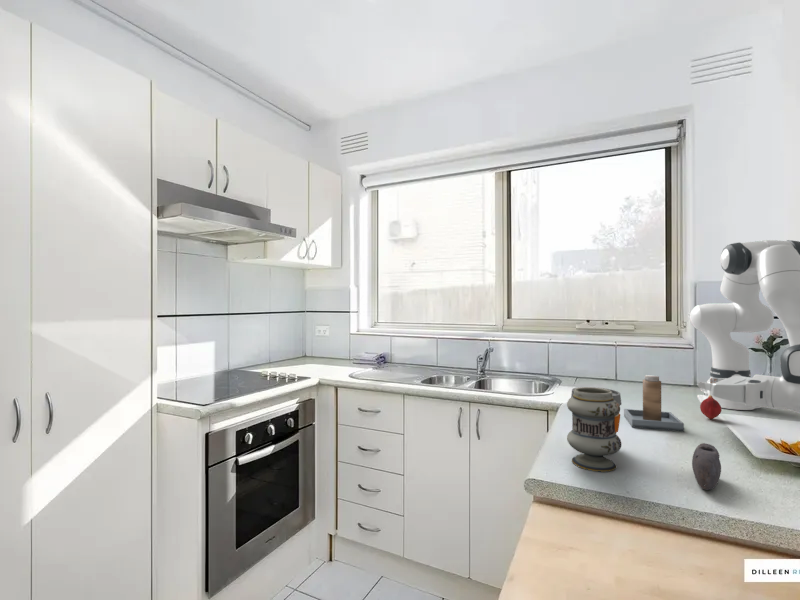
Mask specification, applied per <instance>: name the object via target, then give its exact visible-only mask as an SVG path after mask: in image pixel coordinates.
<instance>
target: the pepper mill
mask: <svg viewBox="0 0 800 600" xmlns="http://www.w3.org/2000/svg"><path fill="white" fill-rule="evenodd" d="M642 410H643V420H654V421H661V412H662V381H661V380H660V376H658V375H651V374H650V375H649V374H645V375H644V379H642Z"/></svg>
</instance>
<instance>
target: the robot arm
mask: <svg viewBox="0 0 800 600" xmlns="http://www.w3.org/2000/svg"><path fill="white" fill-rule="evenodd" d="M719 262H720V266H721V270H723V271H724V272H723V276H722V280H721V282H720V283H721V284H720V288H719V290H720V294H721V295H722V296H723V298H724V299H727V300H728V301H729V302H730V303H729V302H728V303H726V302H725V303H724V302H720V303H719V302H717V303H713V302H711V303H704V304H698V305H695V306H694V307H693V308H692V309H691V311H690V314H689V320H690V323H691V325H692V326H693V328H694V329H696V330H697V331H699V333H701V334H702V335H703V336H704V337H705V338H706V339H707V341H708V343H709V346H710V349H711V359H712V360H711V362H712V367H711V368H710V374H709V376H710V377H709V378H708V379H707V381H698V383H697V387H698V388H699V389H700V391H701V392H703V394H697V399H698V401H699V403H700V404H701V403H702V401H703V400H705V399H707V398H708V397H709V395H711V396H712V397H713V399H715V400H716V401H717V402H718V403H719V404H720V406H721V409H729V410H738V411H740V410H741V411H751V410H756V409H761V408H768V409H775V410H789V411H791V412H794V413H798V414H800V241H799V240H790V239H788V240H787V239H786V240H776V239H775V240H773V239H772V240H771V239H769V240H767V239H766V240H759V241H756V240H755V241H748V242H746V241H745V242H733V243H730V244H727V245H725V247H724V248H723V249H722V252H721V253H720V261H719ZM760 291H761V294H762V296H763V298H764V300H765V302H766V303H767V305H765V304H764V303H762V301H761V300H760ZM773 313H774V314H775V316H776V317H777V318H778V319H779V321H780V323H781V324H782V326H783V328H784V330H785V333H786V336H787V340H788V344H789V347H787V348H786V349H784V350H783V351H782V353H781V354H780V358H779V363H780V371H781V376H773V375H766V374H754V375H753V376H752V373H751V370H750V351H749V349H748V348H747V347H746V346H745V345H744V344H742V343H740V342H738V341H736V340H734V339H732V337H731V333H752V334H753V333H758V332H766V331H768V330H770V328H771V327H772V325H773V323H774V319H775V317H774V314H773ZM751 376H752V377H751Z"/></svg>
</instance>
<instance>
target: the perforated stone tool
mask: <svg viewBox="0 0 800 600" xmlns="http://www.w3.org/2000/svg"><path fill="white" fill-rule="evenodd" d="M691 466H692V470H693V475H694V477H695V481H696V482H697V484H698V485H699V487H700V488H702V489H703V490H705V491H709V490H710V491H711V490H713V489H714V488H716V487H717V485H718V483H719V481H720V478H721V473H722V465H721V459H720V453H719V451H718V449H717V448H716V446H714V445H712V444H709V443H705V442H704V443H703V442H702V443H700V444H699V445H697V446H696V447H695V449H694V451H693V455H692V459H691Z"/></svg>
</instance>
